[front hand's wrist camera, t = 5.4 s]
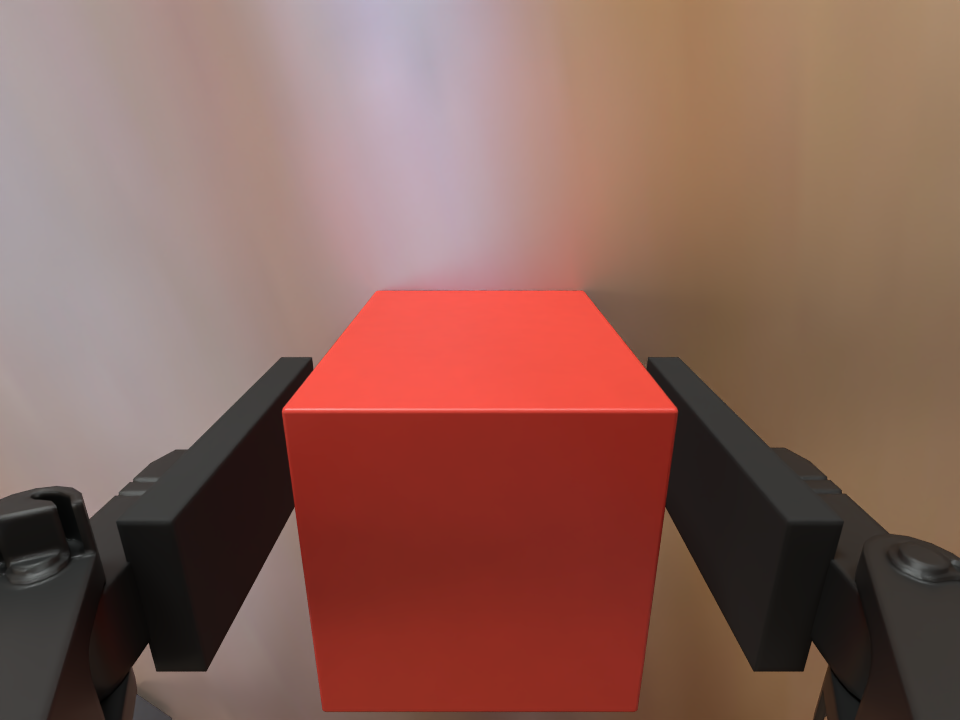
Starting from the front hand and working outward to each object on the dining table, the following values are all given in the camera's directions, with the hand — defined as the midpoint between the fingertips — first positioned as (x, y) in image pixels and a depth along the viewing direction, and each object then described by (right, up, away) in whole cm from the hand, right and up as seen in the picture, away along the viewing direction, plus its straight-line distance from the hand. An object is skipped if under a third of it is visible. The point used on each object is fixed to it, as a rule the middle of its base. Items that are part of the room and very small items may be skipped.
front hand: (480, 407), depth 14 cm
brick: (0, 0, +1) cm, 1 cm away
